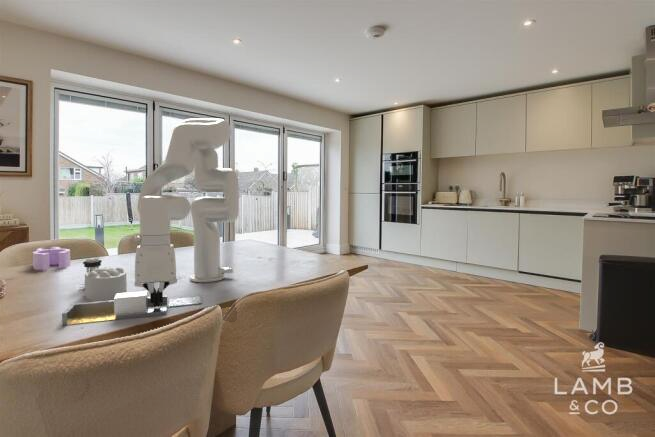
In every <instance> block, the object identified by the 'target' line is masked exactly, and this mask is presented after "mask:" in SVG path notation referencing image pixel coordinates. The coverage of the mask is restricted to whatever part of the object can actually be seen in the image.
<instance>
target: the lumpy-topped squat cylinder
mask: <svg viewBox="0 0 655 437" xmlns="http://www.w3.org/2000/svg"><path fill="white" fill-rule="evenodd" d="M84 284H85V285H84V286H85V287H84V290H85V291H84V292H85V294H84V295H85V296H84V297H85V298H86V299H88V300H89V301H91V302H99V301H111V300H114V297H115V296H116V294H117V293H128V286H127V285H128V283H127V272H126V271H125V270H124V268H123V267H120V266H119V267H118V266H117V267H116V268H113V267H111V266H106V267H99V268H97V269H94V270H92V271H91V272H90V271H89V272H88V273H87V272H86V273H84Z"/></svg>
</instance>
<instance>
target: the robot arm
mask: <svg viewBox="0 0 655 437" xmlns="http://www.w3.org/2000/svg"><path fill="white" fill-rule="evenodd" d="M231 131H232V130H231V126H230V124H229V123H228V121H227V120H225V119H224V118H187V119H184V120H182V121H181V123H179V124H177V125H176V126H175V127H174V129H173V130H172V134H171V137H170V141H169V145H168V149H167V152H166V157H165V160H164V162H163V163H161V165H159V166H157V168H155V169H154V170H153V171H152V172H151V173H150V174H149V175H148V176H147V177H146V178H145V180H144V182H143V183H142V185H141V188H140V191H139V195H138V199H137V212H138V214H139V235H138V236H134V238H133V242H134V243H138V244H139V245H138V246H137V247H136V250H135V251H136V252H135V259H134V286H135V287H138V288H144V289H145V290H146V291H148V292H149V294H150V296H149V297H151V303H153V307H155V306H156V305H157V306H160V302H163V296H164V295H163V292H164V290H166V289H167V287H168V286H171V285H174V284H178V279H177V278H178V277H177V264H176V263H177V262H176V261H177V260H176V252H175V247H174V244H172V243H171V221H182V220H185V219H187V217H189V215H190V213H191V218H192V224H193V258H194V259H193V262H194V263H193V264H194V265H193V270H194V271H193V272H194V273H193V274H192V275H190V276H189V280H190V281H191V282H195V283H214V282H219V281H221V280H222V281H223V279H225V274H233V272H234V270H233V267H222V265H221V233H220V230H219V228H218V226H217V225H216V223H233V222H235V221H237V219H238V217H239V213H240V212H239V211H240V202H239V199H240V197H239V196H240V191H239V190H240V187H239V178H238V174H237V172H236V170H234V169H232V168H230V167H229V168H227V167H224V168H223V167H220V166H219V156H218V153H217V149H219V148H221V147H223V146H225V144H227V143H228V142H229V141H230V138H231V136H232V135H231V134H232V132H231ZM193 171H194V172H193ZM191 173H193V174H194V175H193V176H194V186H195V189H196V190H197V192H199V193H203V194H222V195H223V196H224V197H223V196H199V197H197V198H195V199H193V201H192V202H191V203H190V201H189V200H188V199H187V197H185V196H183V195H177V194H159V192H160V191H161V190H162V189H163V188H164V187H165V186H166V185H168V184H170V183H172V182H174V181H176V180H180V179H181V178H184V177H186V176H189V175H191ZM156 283H158V284H159V285H158V288H157V289H156V287H155V284H156Z"/></svg>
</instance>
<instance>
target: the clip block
mask: <svg viewBox="0 0 655 437" xmlns="http://www.w3.org/2000/svg"><path fill="white" fill-rule="evenodd" d="M148 292H149V291H148V290H144V291H143V290H142V291H141V290H140V291H131V292H127V293H117V294H116V296H115V297H114V315H119V314H129V313H138V312H146V311H147V308H148V297H149V296H148V294H149V293H148Z"/></svg>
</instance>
